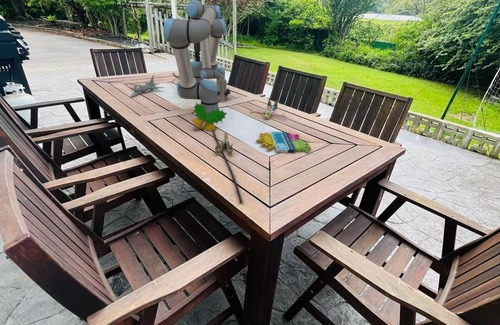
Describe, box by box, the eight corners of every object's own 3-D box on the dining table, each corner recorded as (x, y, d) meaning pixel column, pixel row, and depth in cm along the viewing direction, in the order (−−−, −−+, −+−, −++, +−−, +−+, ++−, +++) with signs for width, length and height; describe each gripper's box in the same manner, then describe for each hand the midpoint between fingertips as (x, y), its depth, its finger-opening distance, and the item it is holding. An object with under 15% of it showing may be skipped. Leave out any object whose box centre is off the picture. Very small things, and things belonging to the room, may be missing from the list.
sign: (313, 150, 142) (258, 149, 139) (312, 153, 143) (258, 152, 140) (301, 132, 164) (254, 130, 161) (301, 134, 165) (254, 133, 162)
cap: (196, 60, 199) (196, 57, 198) (201, 61, 197) (201, 58, 196) (193, 61, 195) (193, 58, 194) (197, 61, 194) (197, 58, 193)
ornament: (218, 133, 171) (224, 110, 169) (221, 134, 163) (227, 111, 161) (186, 125, 162) (192, 101, 160) (189, 126, 155) (195, 101, 153)
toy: (290, 101, 205) (286, 112, 179) (289, 110, 208) (285, 122, 182) (256, 97, 210) (247, 107, 184) (255, 106, 213) (246, 117, 187)
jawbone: (234, 135, 144) (233, 125, 135) (233, 160, 138) (232, 151, 129) (217, 135, 144) (216, 125, 135) (216, 160, 138) (214, 150, 129)
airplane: (124, 87, 237) (122, 75, 232) (159, 84, 250) (158, 74, 245) (128, 99, 208) (126, 87, 203) (168, 96, 222) (167, 84, 217)
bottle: (225, 102, 217) (226, 76, 206) (217, 101, 216) (217, 75, 206) (226, 99, 223) (226, 74, 213) (217, 99, 223) (217, 73, 212)
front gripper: (204, 27, 179) (204, 63, 191) (198, 26, 193) (199, 59, 205) (193, 26, 177) (194, 63, 188) (188, 25, 191) (190, 59, 202)
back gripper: (232, 92, 235) (234, 99, 216) (209, 91, 232) (209, 99, 213) (232, 84, 232) (234, 90, 212) (209, 83, 229) (209, 89, 209)
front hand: (197, 61), depth 196 cm, fingers closed on cap, 4 cm apart
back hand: (222, 94), depth 212 cm, fingers closed on bottle, 7 cm apart
